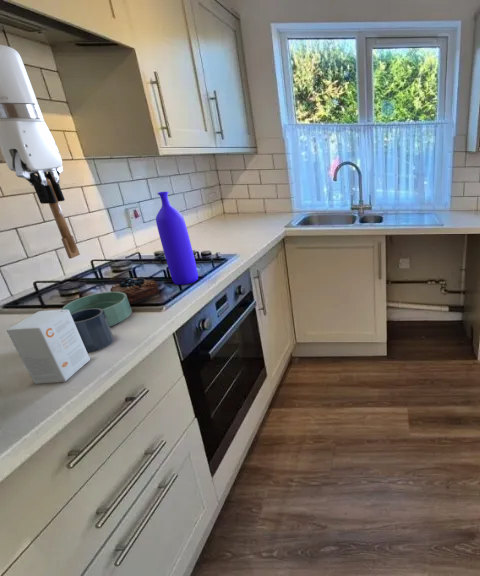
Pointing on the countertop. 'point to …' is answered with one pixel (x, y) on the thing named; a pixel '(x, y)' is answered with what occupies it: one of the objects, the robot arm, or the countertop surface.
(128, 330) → the countertop surface
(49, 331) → the small box
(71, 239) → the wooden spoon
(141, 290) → the pastry
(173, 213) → the bottle
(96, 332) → the crock
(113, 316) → the bowl
